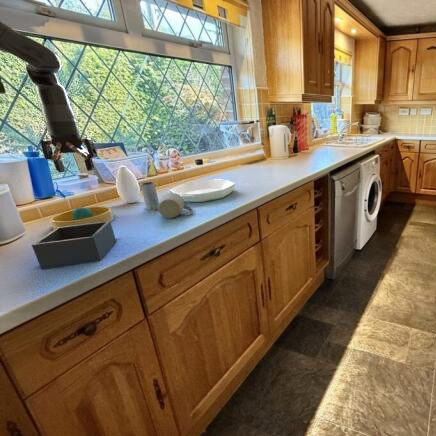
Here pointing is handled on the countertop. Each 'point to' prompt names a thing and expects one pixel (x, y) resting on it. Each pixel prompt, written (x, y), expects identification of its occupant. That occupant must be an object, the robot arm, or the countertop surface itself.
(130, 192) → the sauce bottle
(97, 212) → the bowl
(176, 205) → the ceramic mug
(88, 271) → the countertop surface
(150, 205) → the grey cylinder
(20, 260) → the countertop surface
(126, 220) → the countertop surface
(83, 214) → the toy ball
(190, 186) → the white oval serving dish
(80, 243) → the bin
